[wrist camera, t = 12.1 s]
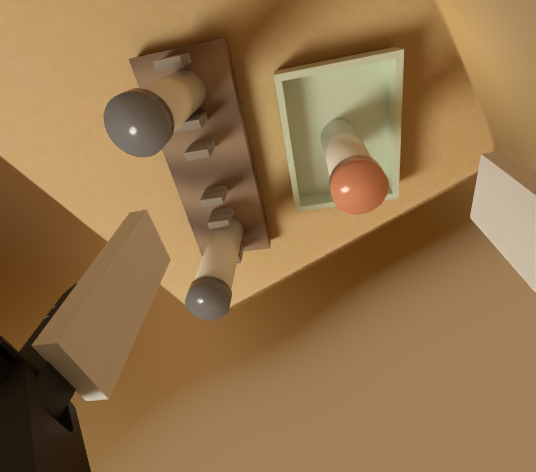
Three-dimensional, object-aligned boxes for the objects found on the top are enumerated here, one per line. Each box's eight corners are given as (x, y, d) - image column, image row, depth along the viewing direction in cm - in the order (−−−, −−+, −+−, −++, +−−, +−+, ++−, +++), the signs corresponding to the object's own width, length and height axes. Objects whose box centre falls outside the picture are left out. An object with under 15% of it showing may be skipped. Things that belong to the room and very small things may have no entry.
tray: (275, 70, 31) (273, 75, 29) (394, 46, 30) (404, 49, 27) (295, 199, 39) (295, 212, 36) (391, 186, 37) (398, 198, 35)
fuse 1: (159, 71, 30) (92, 99, 20) (200, 62, 30) (153, 87, 19) (174, 115, 33) (120, 161, 22) (212, 108, 32) (175, 151, 21)
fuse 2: (208, 217, 39) (178, 290, 29) (240, 213, 38) (222, 286, 28) (217, 244, 41) (193, 321, 31) (248, 240, 41) (234, 318, 30)
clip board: (135, 57, 31) (114, 62, 27) (225, 37, 30) (216, 40, 26) (204, 249, 44) (196, 271, 40) (270, 241, 42) (268, 262, 39)
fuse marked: (316, 120, 33) (328, 168, 22) (356, 113, 32) (388, 158, 22) (320, 158, 35) (333, 217, 25) (358, 151, 34) (388, 210, 24)
